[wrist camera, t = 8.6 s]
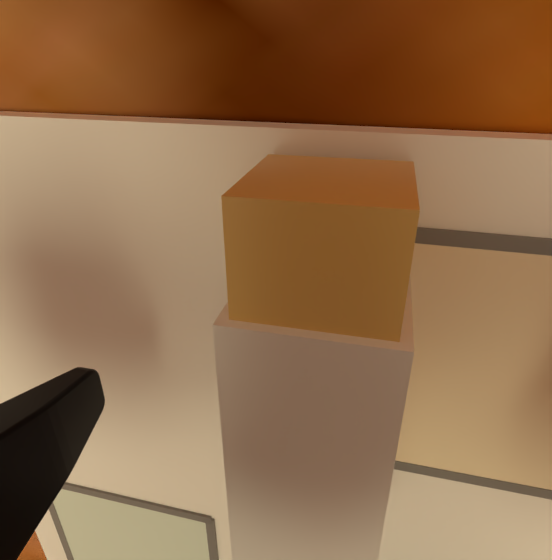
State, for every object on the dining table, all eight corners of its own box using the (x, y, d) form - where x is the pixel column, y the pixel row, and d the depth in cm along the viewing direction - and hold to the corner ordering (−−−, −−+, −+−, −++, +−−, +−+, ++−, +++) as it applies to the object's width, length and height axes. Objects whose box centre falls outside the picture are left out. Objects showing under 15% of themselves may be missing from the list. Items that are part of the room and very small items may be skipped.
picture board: (492, 694, 17) (495, 718, 16) (67, 574, 20) (57, 590, 20) (781, 143, 7) (815, 153, 7) (-114, 105, 11) (-143, 110, 10)
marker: (374, 494, 12) (367, 616, 10) (266, 472, 13) (233, 581, 10) (424, 159, 8) (438, 216, 5) (260, 151, 9) (202, 199, 6)
